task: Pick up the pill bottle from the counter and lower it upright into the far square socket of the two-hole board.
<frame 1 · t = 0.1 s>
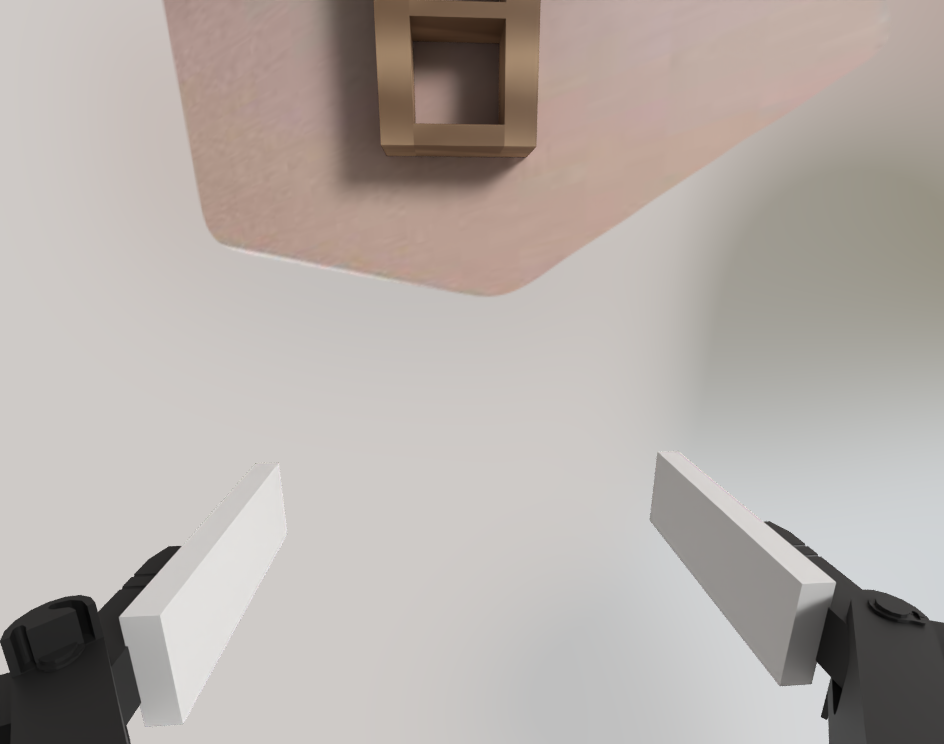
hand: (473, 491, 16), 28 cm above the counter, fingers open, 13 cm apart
socket board: (456, 35, 36), on the counter
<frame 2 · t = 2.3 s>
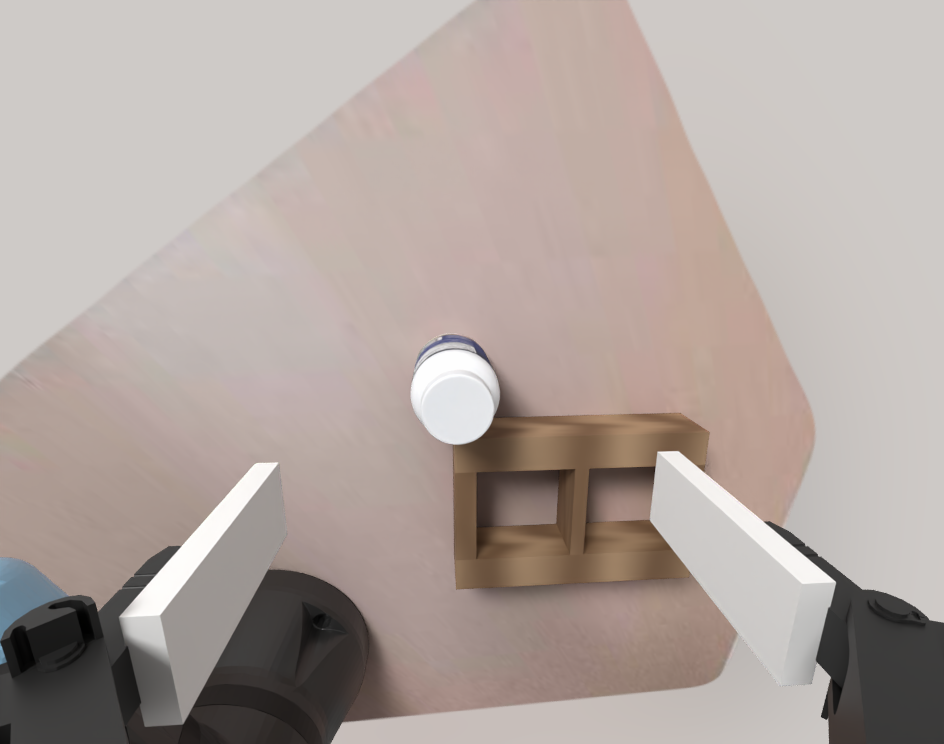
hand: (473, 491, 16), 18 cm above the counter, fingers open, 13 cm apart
pill bottle: (452, 367, 34), on the counter
socket board: (564, 485, 36), on the counter
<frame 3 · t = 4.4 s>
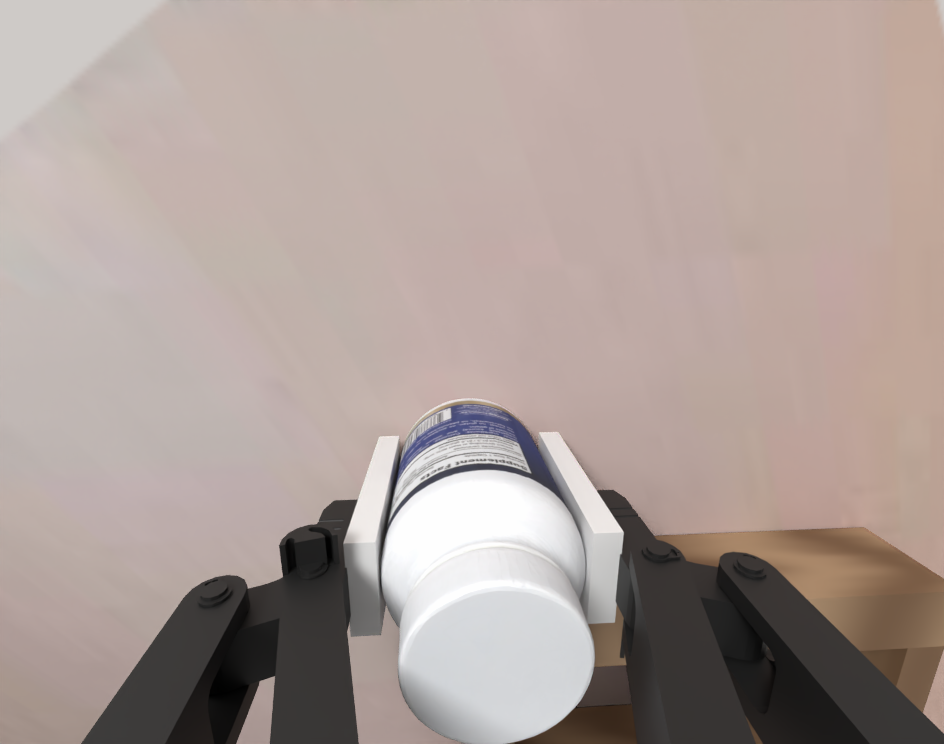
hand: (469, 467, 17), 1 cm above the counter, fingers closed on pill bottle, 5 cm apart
pill bottle: (468, 455, 18), on the counter, touching gripper
socket board: (657, 645, 21), on the counter
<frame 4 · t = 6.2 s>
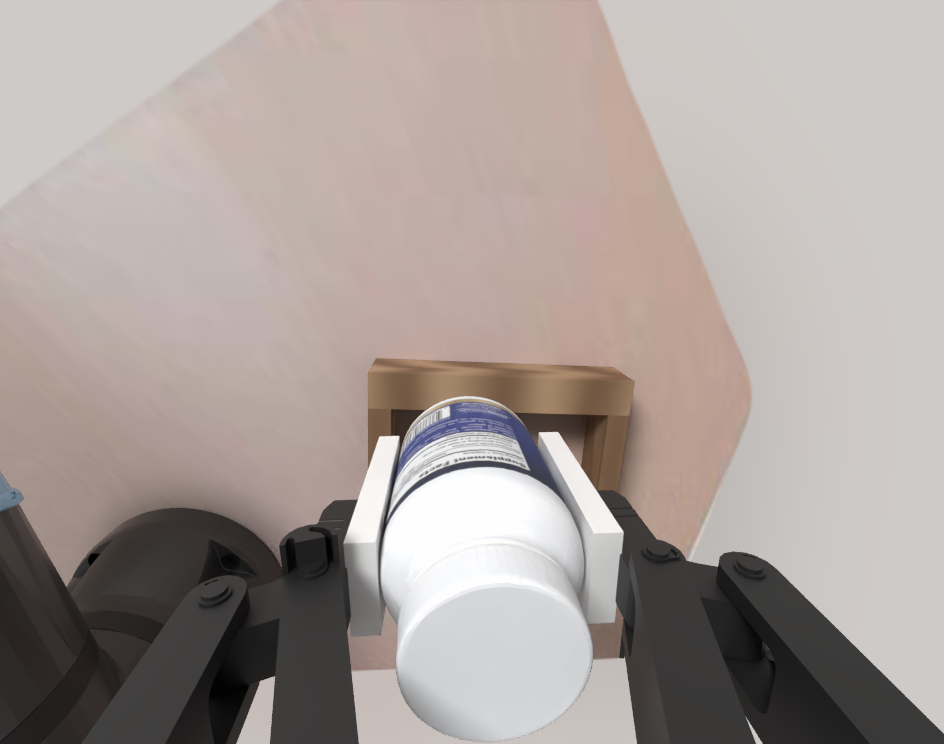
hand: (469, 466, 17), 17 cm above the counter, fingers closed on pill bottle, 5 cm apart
pill bottle: (467, 453, 18), point 16 cm above the counter, touching gripper
socket board: (491, 437, 35), on the counter
when the fingers open (4 cm above the counter, at t = 8.5 s): pill bottle drops 3 cm, resting in socket board.
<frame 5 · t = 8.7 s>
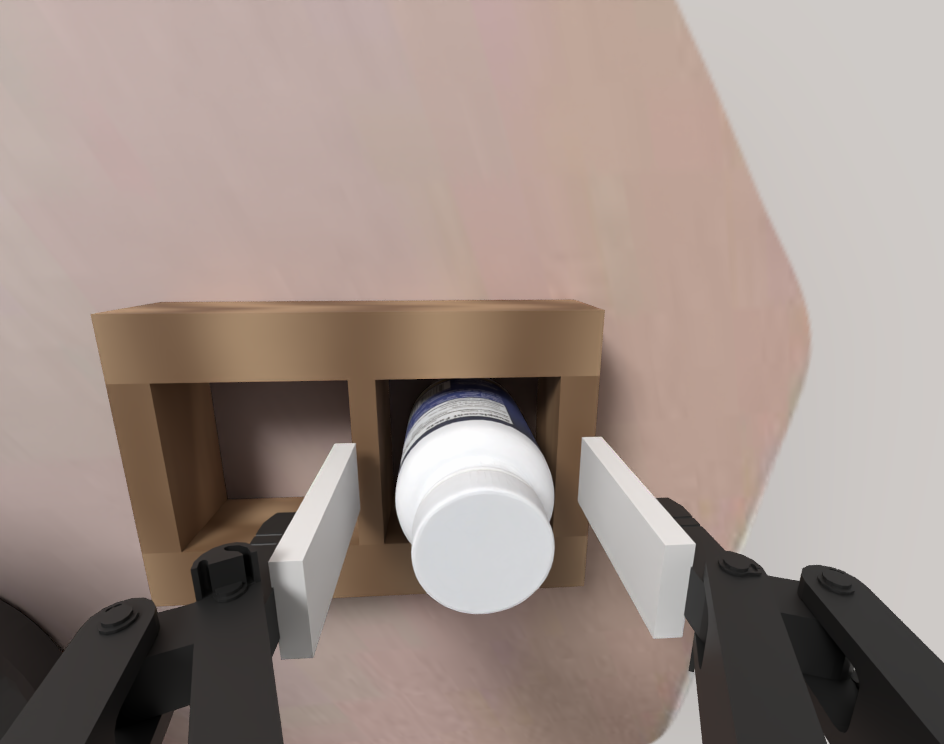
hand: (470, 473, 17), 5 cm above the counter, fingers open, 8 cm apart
pill bottle: (464, 423, 22), resting in socket board
socket board: (380, 428, 21), on the counter
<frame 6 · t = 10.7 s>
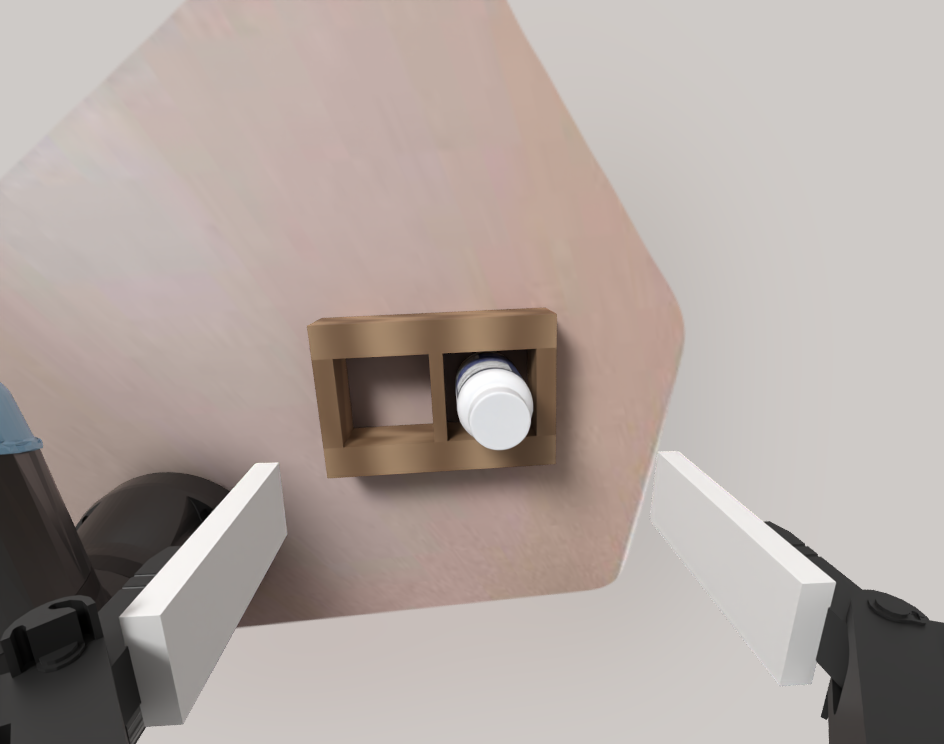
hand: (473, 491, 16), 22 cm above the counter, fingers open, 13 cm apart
pill bottle: (486, 380, 38), resting in socket board
socket board: (439, 384, 38), on the counter
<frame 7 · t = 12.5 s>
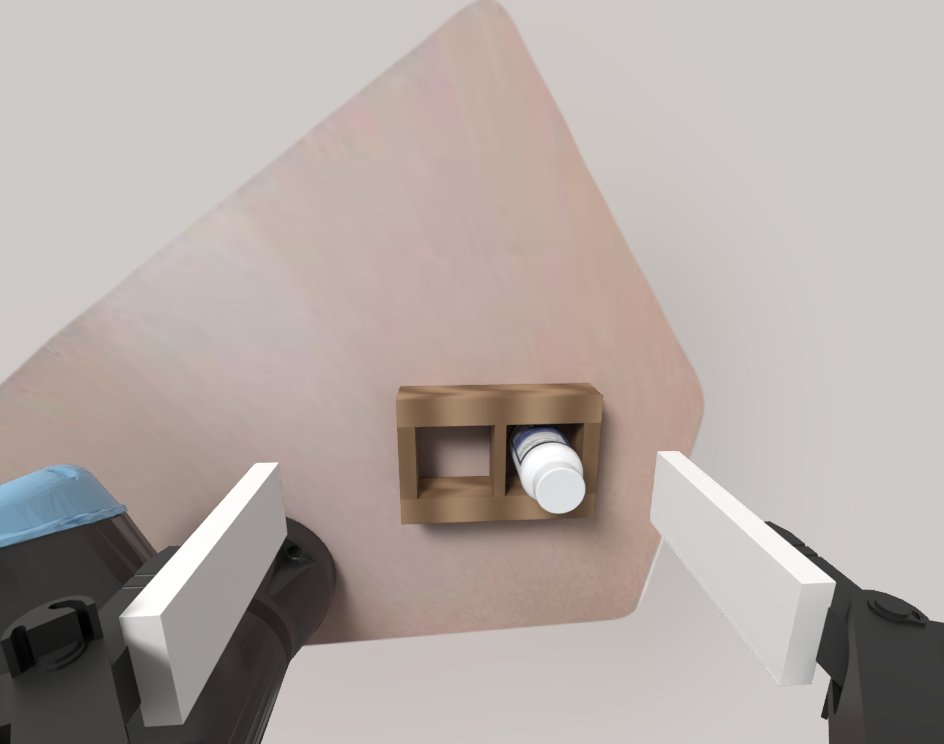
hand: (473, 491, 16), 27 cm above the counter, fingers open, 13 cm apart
pill bottle: (535, 440, 45), resting in socket board
socket board: (494, 443, 44), on the counter
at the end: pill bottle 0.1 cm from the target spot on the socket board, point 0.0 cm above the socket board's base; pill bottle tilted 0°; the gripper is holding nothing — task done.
